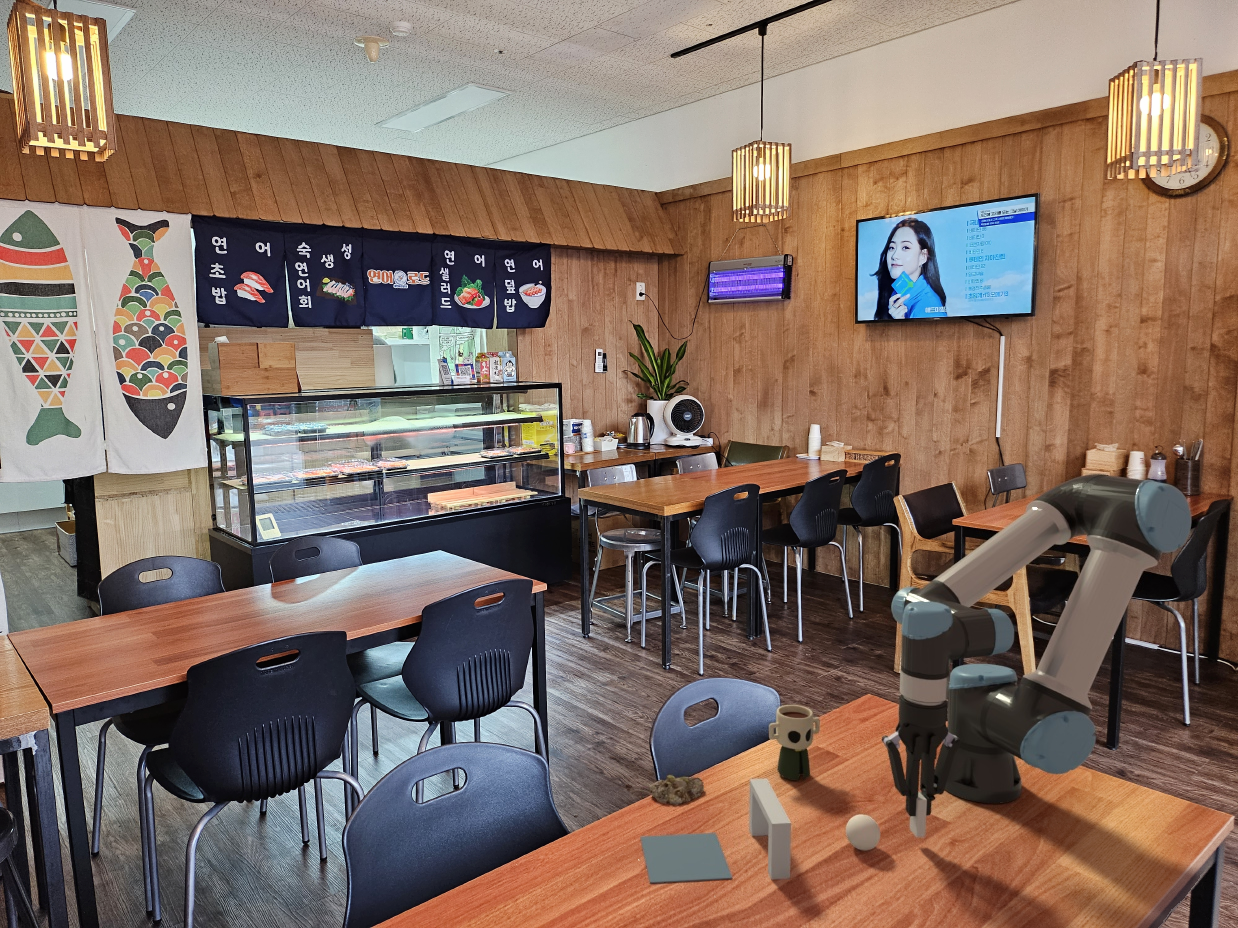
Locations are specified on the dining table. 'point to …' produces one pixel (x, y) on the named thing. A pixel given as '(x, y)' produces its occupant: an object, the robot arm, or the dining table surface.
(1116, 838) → the dining table surface
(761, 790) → the bridge
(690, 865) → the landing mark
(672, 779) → the mineral rock
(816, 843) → the dining table surface
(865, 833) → the ball
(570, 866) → the dining table surface
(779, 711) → the character mug
